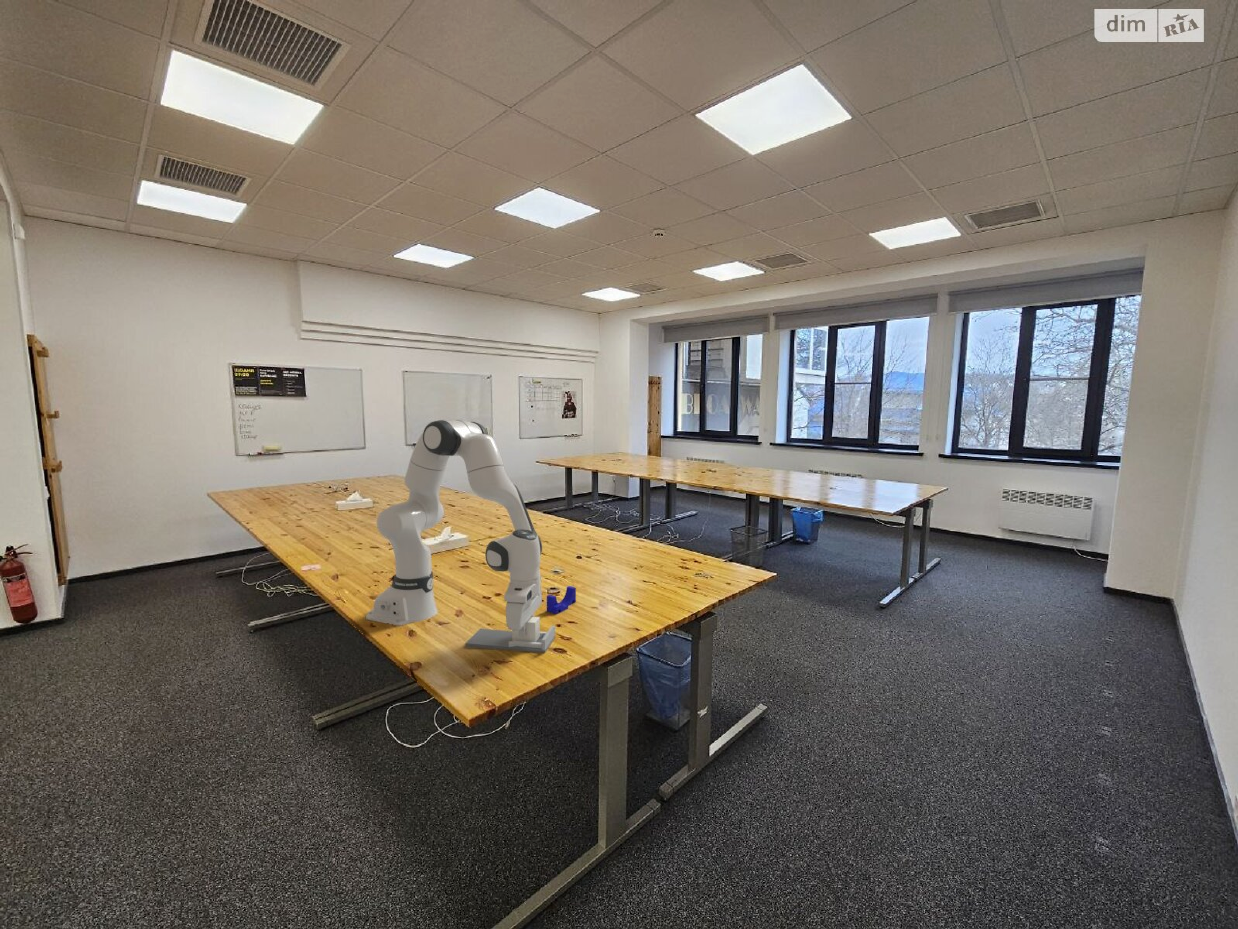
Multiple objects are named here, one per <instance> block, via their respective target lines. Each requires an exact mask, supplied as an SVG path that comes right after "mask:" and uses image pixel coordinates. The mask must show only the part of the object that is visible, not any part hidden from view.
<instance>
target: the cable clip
mask: <svg viewBox="0 0 1238 929" xmlns="http://www.w3.org/2000/svg"><path fill="white" fill-rule="evenodd" d="M576 588H577V587H575V586H572V585H569V586H567V587H566V591H565V595H564V597H563V598H562V599H561V601H559V602H558V601H557V596H555V595H552V594H548V595H546V612H547V613H551V614H555V615H558V614H559V613H563V612H564V611H566V610H568V609H569V606H571V605H573V603H574V604H575V603H577V589H576Z"/></svg>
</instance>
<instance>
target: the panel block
mask: <svg viewBox="0 0 1238 929" xmlns="http://www.w3.org/2000/svg"><path fill="white" fill-rule="evenodd" d="M525 629H526V635H525V636H524V637H520V636H519V630H511V631H512V640H513V641H528V642H536V641H537V640H538V639H539V637H540V631H541V617H540V616H534V617H530V618H529V620H528V621H527V622H526V623H525Z"/></svg>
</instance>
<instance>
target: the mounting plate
mask: <svg viewBox="0 0 1238 929" xmlns="http://www.w3.org/2000/svg"><path fill="white" fill-rule="evenodd" d="M555 638H556V625H551V626H550V627H549V629H548V630H547V631H541V630H540V637H539V639H538V640H537V641H536V642H528V641H513V640H512V630H503V629H501V630H500V629H489V628H479V629H478V630H477V631H476V632H475V633H474V634H473V635H472V636H471V637H470V638H469V639H468V640H467V641H466V642H465V644H464V645H465V647H466V648H475V649H489V650H499V651H500V650H502V651H513V652H527V653H529V652H531V653H540V654H541V653H542V654H545V653H546V652H547V651H548V649H549V648H550V646H551V644H552V643H553V642H554V640H555Z"/></svg>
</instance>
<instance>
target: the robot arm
mask: <svg viewBox="0 0 1238 929" xmlns="http://www.w3.org/2000/svg"><path fill="white" fill-rule="evenodd" d="M453 456H454V457H455V456H457V457H459V456H460V457H461V458H462V459H463V461H464V465H465V470H466V474H467V479H468V482H469V486H470V488H471V491H473V493H474V494H475V495H476V496H478V497H480V498H482V499H484V500H487V501H490V502H491V501H492V502H495V503H498V504H500V505H501V506H503V507H504V508H505V509H506V510H507V514H508V515H509V518H510V521H511V523H512V525H513V528H514V530H513V531H512V532H511V533H510V534H509V535H507V536H503V537H500V538H497V539H494V540H491V541H490V542H488V544H487V545H486V549H485V555H484V556H485V561H486V564H487V565H488V567H489V568H490V569H492V570H493V571H495V572H500V573H501V572H508V573H509V582H508V587H507V589H506V591H505V593H504V597H503V599H504V600H503V602H506V605H505V618H506V620H505V621H506V627H507V629H508V630H509V631H512V630H519V636H520V637H524V636H525V635H526V629H525V623H526V622H527V621H528V620H529V618H530V617H535V612H536V611H537V610H538V609H539V608H540V606H541V605H542V602H543V596H542V584H541V583H542V582H541V578H542V577H541V576H542V575H541V571H540V565H541V555H542V552H543V544H542V543H543V542H542V541H541V540H542V539H541V538H540V537H539V534H538V532H536V528H534V524H533V522H532V520H531V517H530V515H529V511H528V509H527V507H526V504H525V502H524V498H523V496H522V494H521V492H520V490H519V488H518V486H516V485H515V484H514V483H513V482H512V481H511V479H510V478H509V476H508V475H507V472H506V469H505V467H504V461H503V457H502V455H501V452H500V449H499V446H498V445H497V442H496V440H495V438H493V437H492V436H491V435H489V433H488V430H487V428H486V427H485V426H484V425H482V424H481V423H478V422H476V421H468V420H462V419H461V420H460V419H456V420H455V419H454V420H445V419H439V420H434V421H431V422H429V423H428V424H426V426H425V427H424V429H423V432H422V433H421V434H420V436H419V438H418V439H417V441H416V444H415V445H414V448H413V451H412V452H411V456H410V460H409V461H408V462H409V463H408V466H407V470H406V473H405V477H404V484H405V486H406V487H407V489H408V490H409V494H408V495H409V496H408V499H407V501H405V502H399V503H396V504H392V505H390V506H389V507H387V508H385V509H383V510H382V511H380V513H379V514H378V516H377V518H376V526H377V529H378V532H379V534H380V535H381V536H382V537H383V538H385V539H387V540H388V541H389V544H390V545H391V547H392V550H393V554H394V562H395V564H394V565H395V574H394V575H392V576H391V577H390V578H388V583H390V582H391V585H390V586H389V587H387V588H386V589H385V590H384V591H382V592H381V593H380V594H378V595H377V597H376V598H375V599H374V603H373V608H372V609H371V610H369V611H368V613H367V614H365V615H366V616H365V620H369V621H371V622H372V621H373V622H378V623H384V624H387V623H389V625H392V624H393V626H398V627H399V626H404V625H408V624H411V623H417V622H418V623H419V622H423V621H426V620H428V619H431V618H433V617H435V616H436V615H437V614H438V612H439V610H438V607H437V604H436V601H435V595H434V591H433V590H434V575H433V574H434V573H433V571H432V552H431V549H430V547H429V546H428V545H425V544H424V542H423V540H422V537H421V534H422V533H421V532H424V531H426V530H429V529H432V528H433V527H435V526H436V525H438V524H439V523H441V521H442V520H443V518H444V516H445V515H444V514H445V509H444V506H443V504H442V502H441V501H440V489H441V484H442V481H443V479H444V478H443V477H444V474H445V470H446V467H447V463H448V460H449V458H450V457H453ZM425 619H426V620H425ZM422 620H423V621H422Z"/></svg>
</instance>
